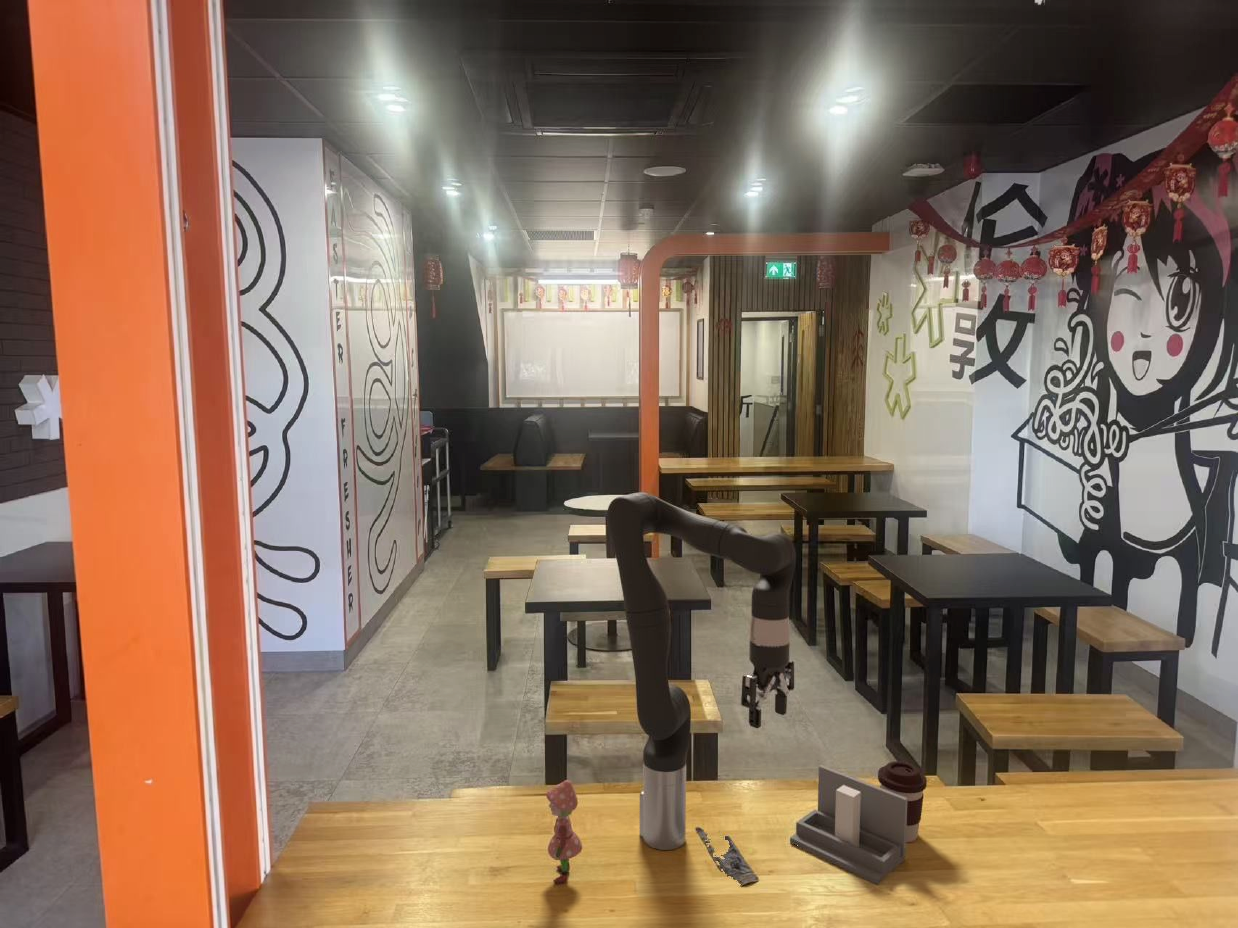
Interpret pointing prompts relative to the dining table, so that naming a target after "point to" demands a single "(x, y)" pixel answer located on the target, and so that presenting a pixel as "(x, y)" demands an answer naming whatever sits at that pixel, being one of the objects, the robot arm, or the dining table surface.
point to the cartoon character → (563, 827)
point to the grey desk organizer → (877, 828)
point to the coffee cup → (905, 791)
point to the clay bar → (847, 815)
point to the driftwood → (731, 861)
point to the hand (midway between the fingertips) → (767, 719)
